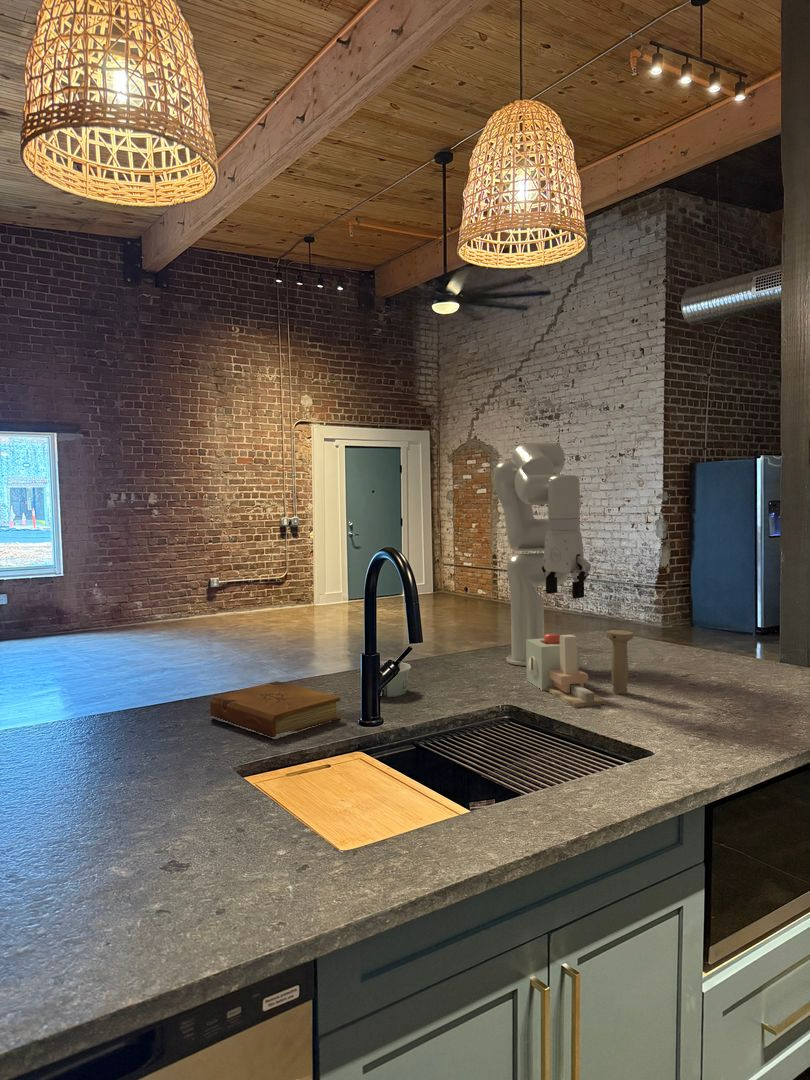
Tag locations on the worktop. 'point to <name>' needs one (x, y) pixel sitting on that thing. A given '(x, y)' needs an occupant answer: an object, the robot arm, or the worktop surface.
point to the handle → (619, 659)
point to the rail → (577, 696)
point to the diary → (275, 708)
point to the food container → (397, 682)
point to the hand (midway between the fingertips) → (564, 595)
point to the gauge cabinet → (543, 662)
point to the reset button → (551, 638)
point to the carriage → (568, 666)
